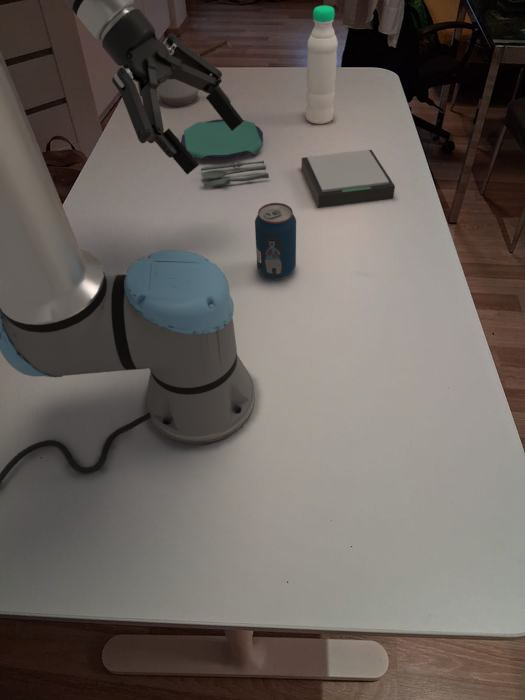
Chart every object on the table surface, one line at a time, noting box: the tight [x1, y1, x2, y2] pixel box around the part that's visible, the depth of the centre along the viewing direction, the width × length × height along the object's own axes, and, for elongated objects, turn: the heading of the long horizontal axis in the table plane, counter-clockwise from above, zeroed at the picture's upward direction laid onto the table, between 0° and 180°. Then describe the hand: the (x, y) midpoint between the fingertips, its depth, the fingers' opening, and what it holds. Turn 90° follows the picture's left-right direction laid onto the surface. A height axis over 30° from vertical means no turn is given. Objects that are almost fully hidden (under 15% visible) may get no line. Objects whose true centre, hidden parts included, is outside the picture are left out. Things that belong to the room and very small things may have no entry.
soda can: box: [254, 202, 297, 281], centre depth 93 cm, size 7×7×12 cm
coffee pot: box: [157, 39, 232, 107], centre depth 144 cm, size 21×12×15 cm, turn 86°
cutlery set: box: [180, 118, 270, 188], centre depth 126 cm, size 20×30×2 cm, turn 9°
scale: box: [300, 149, 396, 209], centre depth 115 cm, size 16×16×3 cm
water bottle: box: [305, 5, 339, 125], centre depth 129 cm, size 7×7×25 cm
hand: (216, 147), depth 85 cm, fingers open, 13 cm apart
